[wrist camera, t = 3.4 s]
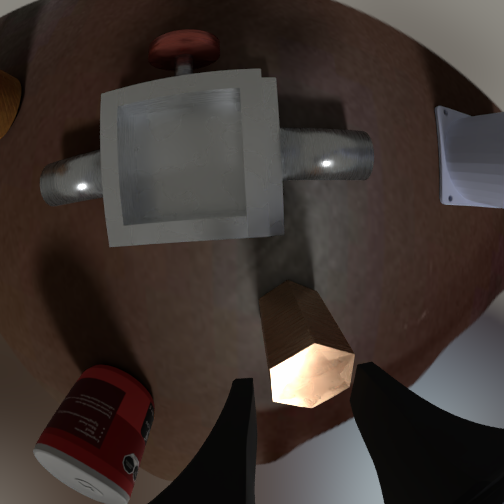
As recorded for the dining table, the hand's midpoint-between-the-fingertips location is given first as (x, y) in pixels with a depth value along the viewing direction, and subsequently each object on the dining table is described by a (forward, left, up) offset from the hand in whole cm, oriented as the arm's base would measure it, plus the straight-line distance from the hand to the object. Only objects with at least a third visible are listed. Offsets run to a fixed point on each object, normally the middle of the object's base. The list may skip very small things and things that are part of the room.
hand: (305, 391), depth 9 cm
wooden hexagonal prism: (-1, +1, -9) cm, 9 cm away
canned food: (+15, +10, -10) cm, 20 cm away
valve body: (+5, -9, -9) cm, 14 cm away
